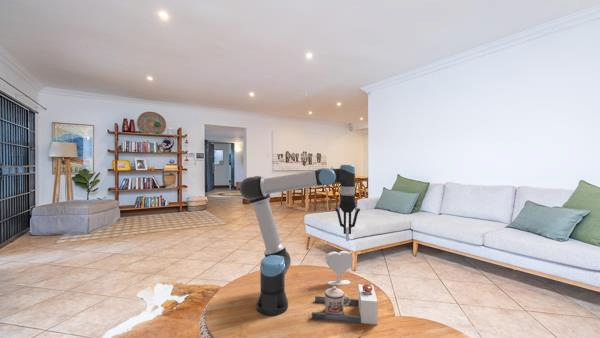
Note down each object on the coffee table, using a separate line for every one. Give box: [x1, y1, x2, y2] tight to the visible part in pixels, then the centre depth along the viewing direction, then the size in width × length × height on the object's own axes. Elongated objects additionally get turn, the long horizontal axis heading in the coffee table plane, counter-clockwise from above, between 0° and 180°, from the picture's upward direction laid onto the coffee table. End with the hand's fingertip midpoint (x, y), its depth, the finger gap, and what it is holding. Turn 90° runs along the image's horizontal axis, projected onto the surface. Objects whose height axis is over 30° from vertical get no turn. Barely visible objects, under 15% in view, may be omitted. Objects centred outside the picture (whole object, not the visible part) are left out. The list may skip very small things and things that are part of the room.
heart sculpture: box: [325, 250, 354, 286], centre depth 158 cm, size 16×5×18 cm, turn 101°
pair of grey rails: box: [311, 295, 362, 324], centre depth 127 cm, size 22×16×2 cm
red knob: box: [362, 284, 372, 295], centre depth 124 cm, size 4×4×7 cm
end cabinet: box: [357, 283, 379, 325], centre depth 125 cm, size 7×16×10 cm, turn 172°
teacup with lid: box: [324, 285, 351, 315], centre depth 127 cm, size 12×9×12 cm
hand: (347, 240), depth 138 cm, fingers closed
